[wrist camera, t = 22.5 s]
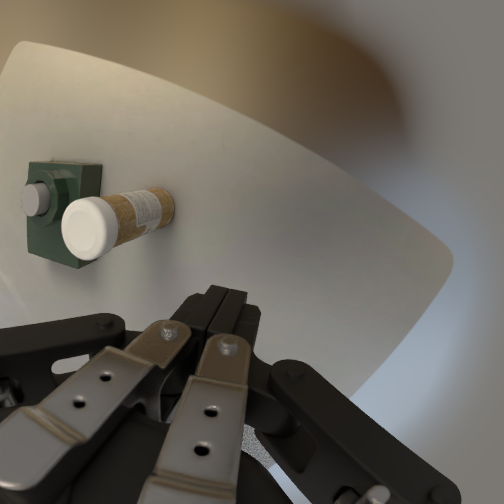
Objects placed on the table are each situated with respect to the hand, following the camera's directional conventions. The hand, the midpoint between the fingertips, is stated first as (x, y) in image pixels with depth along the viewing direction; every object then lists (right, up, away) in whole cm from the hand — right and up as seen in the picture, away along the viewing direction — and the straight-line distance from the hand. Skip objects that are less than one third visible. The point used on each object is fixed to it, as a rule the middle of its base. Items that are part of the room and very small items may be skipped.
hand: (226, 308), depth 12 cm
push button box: (-23, +8, +21) cm, 32 cm away
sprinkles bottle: (-9, +7, +19) cm, 23 cm away
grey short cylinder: (-23, +8, +15) cm, 29 cm away
